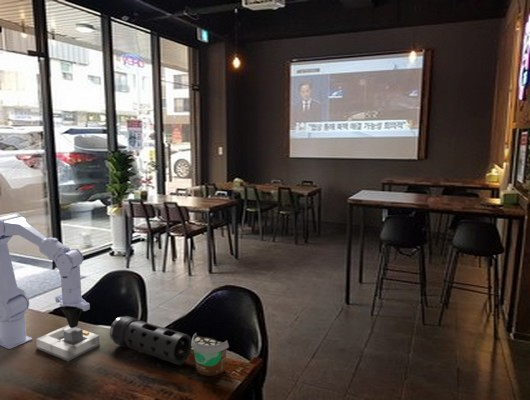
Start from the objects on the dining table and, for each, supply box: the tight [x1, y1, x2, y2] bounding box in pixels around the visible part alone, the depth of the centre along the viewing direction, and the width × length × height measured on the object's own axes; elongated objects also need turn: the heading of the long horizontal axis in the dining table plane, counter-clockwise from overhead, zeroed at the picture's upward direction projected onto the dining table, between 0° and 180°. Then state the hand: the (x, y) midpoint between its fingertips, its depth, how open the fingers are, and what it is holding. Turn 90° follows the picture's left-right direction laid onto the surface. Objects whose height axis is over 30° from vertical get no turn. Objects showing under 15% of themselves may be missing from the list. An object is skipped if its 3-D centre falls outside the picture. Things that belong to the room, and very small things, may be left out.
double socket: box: [35, 324, 101, 362], centre depth 138 cm, size 16×12×4 cm
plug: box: [64, 326, 84, 345], centre depth 136 cm, size 4×4×6 cm
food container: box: [191, 332, 230, 377], centre depth 124 cm, size 12×6×10 cm, turn 65°
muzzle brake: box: [109, 315, 193, 367], centre depth 134 cm, size 10×28×10 cm, turn 61°
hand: (73, 326), depth 136 cm, fingers closed
